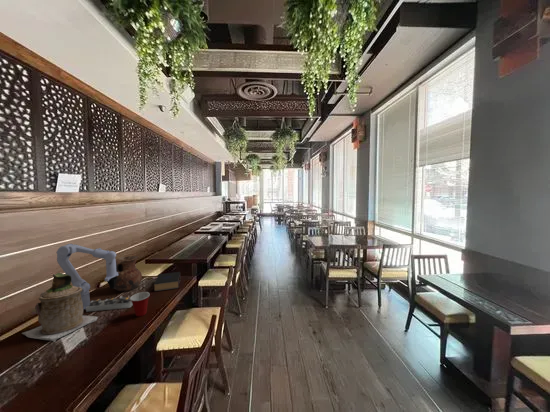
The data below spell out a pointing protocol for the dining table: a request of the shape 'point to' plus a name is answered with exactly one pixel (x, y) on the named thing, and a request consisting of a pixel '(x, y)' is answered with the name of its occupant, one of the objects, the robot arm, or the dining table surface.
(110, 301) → the rocker
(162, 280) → the book
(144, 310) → the plastic cup
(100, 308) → the power strip
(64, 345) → the dining table surface
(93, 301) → the rocker
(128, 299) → the rocker
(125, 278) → the jug
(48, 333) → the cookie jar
